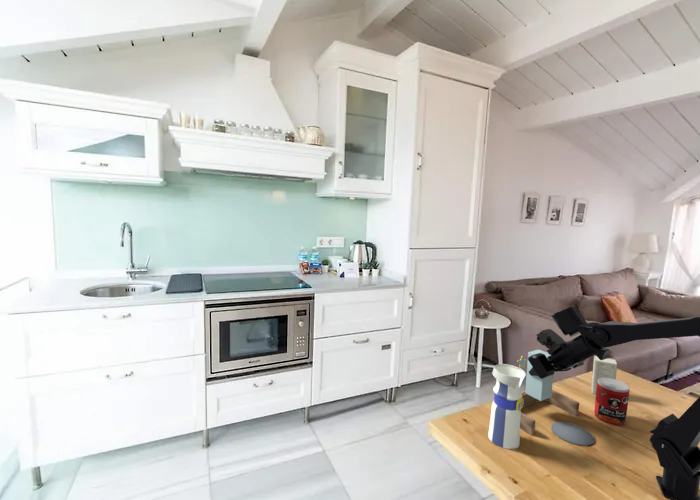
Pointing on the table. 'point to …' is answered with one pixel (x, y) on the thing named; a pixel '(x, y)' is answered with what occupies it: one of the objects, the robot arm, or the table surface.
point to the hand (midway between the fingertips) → (535, 372)
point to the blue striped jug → (507, 405)
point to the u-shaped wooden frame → (556, 399)
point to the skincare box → (603, 371)
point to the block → (538, 381)
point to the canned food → (611, 401)
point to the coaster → (572, 433)
